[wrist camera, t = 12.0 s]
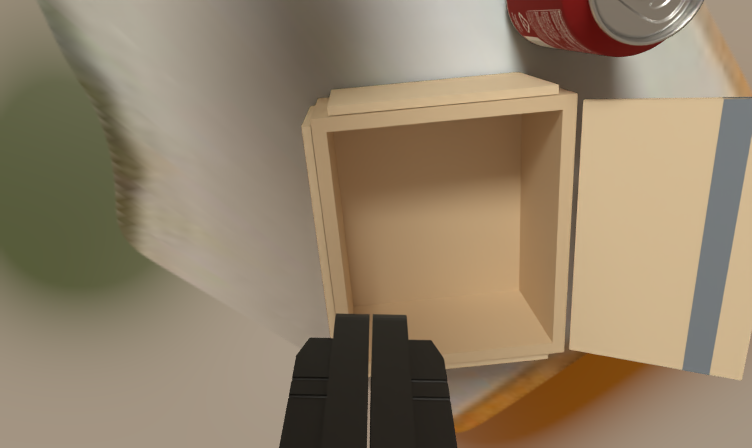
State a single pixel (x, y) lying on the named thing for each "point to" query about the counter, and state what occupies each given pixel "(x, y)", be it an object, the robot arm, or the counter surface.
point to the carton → (448, 210)
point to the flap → (665, 233)
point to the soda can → (601, 23)
